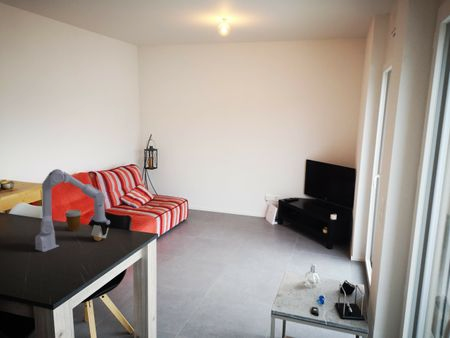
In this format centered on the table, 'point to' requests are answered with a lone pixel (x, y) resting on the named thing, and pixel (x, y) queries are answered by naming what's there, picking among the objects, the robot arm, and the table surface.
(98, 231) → the pale grey cube
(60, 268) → the table surface
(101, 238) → the ball
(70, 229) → the disposable coffee cup
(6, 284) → the table surface
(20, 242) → the table surface
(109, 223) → the robot arm
